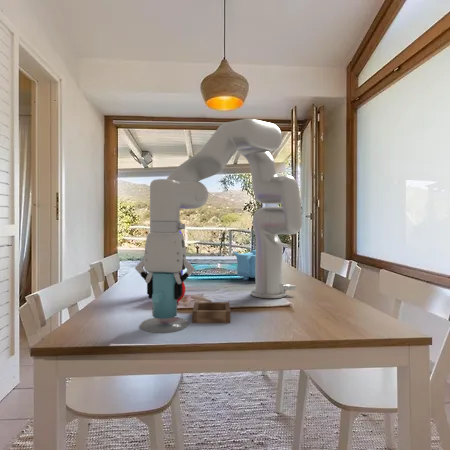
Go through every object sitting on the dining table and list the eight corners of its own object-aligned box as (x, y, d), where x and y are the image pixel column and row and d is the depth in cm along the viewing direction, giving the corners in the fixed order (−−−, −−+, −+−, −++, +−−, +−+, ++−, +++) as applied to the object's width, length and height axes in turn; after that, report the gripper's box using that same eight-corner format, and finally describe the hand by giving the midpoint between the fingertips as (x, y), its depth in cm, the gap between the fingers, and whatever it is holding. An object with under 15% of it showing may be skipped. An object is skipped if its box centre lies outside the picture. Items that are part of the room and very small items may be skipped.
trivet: (189, 320, 101) (189, 316, 100) (186, 334, 89) (186, 330, 88) (145, 320, 100) (145, 316, 100) (136, 334, 88) (136, 330, 88)
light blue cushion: (275, 277, 167) (275, 249, 166) (259, 283, 154) (259, 252, 153) (240, 274, 176) (240, 247, 176) (223, 279, 163) (223, 250, 163)
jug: (157, 311, 98) (157, 270, 97) (179, 312, 97) (179, 271, 96) (142, 322, 88) (142, 276, 87) (167, 324, 87) (167, 277, 86)
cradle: (229, 314, 107) (229, 302, 107) (230, 324, 97) (230, 311, 97) (194, 314, 107) (194, 302, 106) (192, 324, 97) (192, 311, 96)
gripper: (201, 228, 96) (200, 296, 97) (138, 227, 99) (138, 293, 99) (194, 229, 89) (194, 303, 89) (126, 228, 91) (126, 300, 92)
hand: (164, 297), depth 94 cm, fingers closed on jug, 6 cm apart
